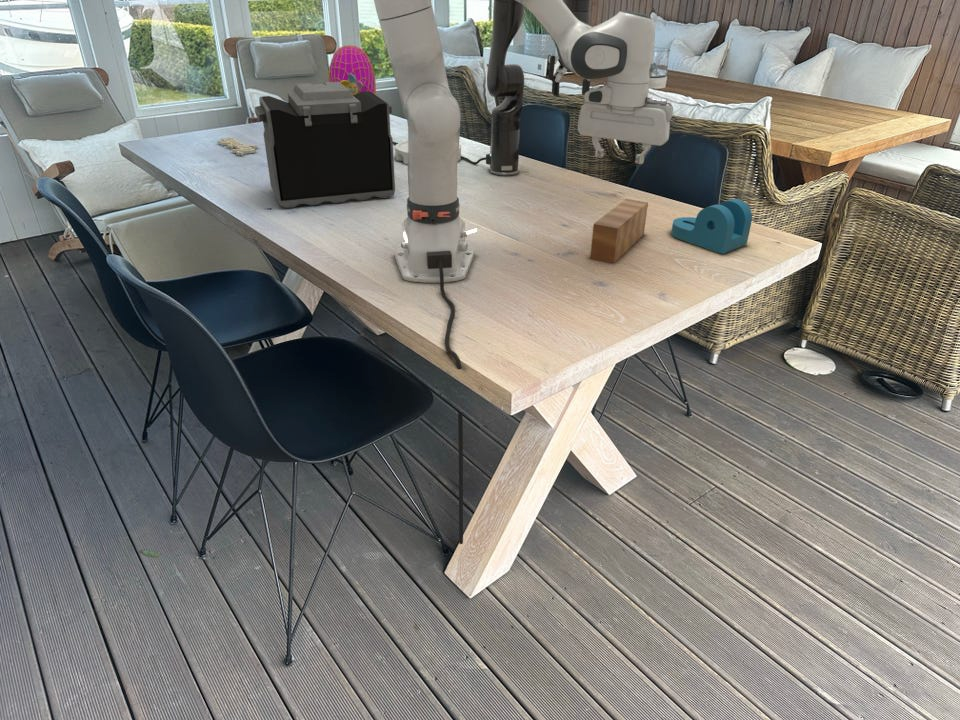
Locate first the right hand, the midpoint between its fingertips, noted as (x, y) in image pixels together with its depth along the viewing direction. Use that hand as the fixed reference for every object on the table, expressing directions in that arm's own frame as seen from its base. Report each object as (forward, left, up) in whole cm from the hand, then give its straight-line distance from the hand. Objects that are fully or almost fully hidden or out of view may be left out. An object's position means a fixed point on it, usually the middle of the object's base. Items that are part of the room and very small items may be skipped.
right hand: (570, 95), depth 188 cm
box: (+37, -8, -29) cm, 48 cm away
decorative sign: (-105, -74, -29) cm, 132 cm away
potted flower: (-93, -32, -29) cm, 103 cm away
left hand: (+41, -14, -7) cm, 44 cm away
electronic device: (-35, -60, -29) cm, 75 cm away
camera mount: (+43, +15, -29) cm, 54 cm away
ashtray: (-62, -17, -29) cm, 70 cm away
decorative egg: (-129, -22, -29) cm, 134 cm away
